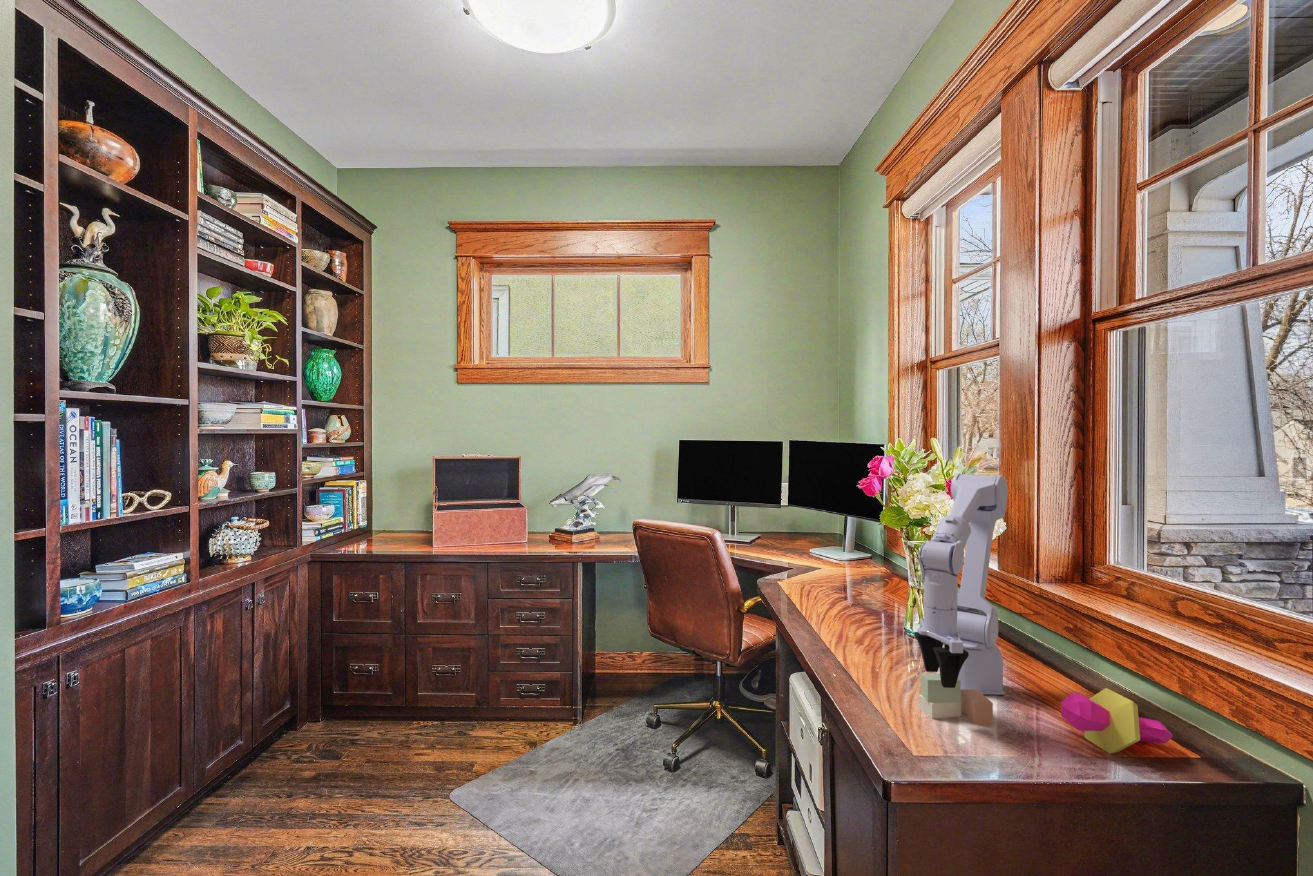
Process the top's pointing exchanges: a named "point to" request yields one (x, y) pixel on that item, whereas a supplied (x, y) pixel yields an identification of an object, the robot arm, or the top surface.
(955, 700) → the green brick
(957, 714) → the cream brick
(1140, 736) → the toy
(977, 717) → the terracotta brick
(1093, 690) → the top surface
